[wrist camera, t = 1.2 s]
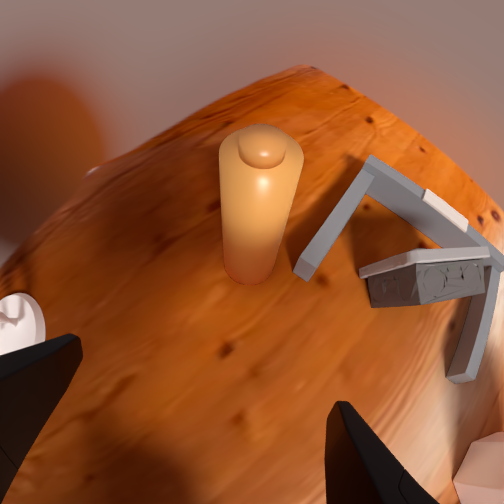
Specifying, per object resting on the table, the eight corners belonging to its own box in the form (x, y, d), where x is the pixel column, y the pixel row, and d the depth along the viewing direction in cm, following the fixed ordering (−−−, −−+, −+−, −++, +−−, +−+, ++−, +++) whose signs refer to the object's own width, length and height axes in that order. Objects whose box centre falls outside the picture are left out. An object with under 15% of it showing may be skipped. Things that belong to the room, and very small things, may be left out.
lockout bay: (455, 384, 21) (484, 377, 18) (292, 272, 26) (302, 249, 22) (486, 272, 27) (508, 256, 23) (359, 177, 32) (371, 151, 28)
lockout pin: (279, 279, 26) (320, 165, 13) (229, 289, 25) (227, 176, 13) (266, 236, 28) (291, 110, 15) (219, 244, 27) (212, 117, 14)
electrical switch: (429, 264, 27) (485, 226, 19) (439, 312, 25) (501, 286, 17) (354, 270, 27) (403, 226, 18) (362, 325, 25) (420, 301, 16)
